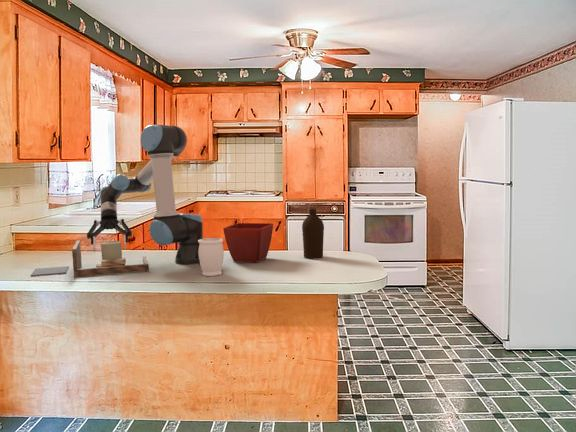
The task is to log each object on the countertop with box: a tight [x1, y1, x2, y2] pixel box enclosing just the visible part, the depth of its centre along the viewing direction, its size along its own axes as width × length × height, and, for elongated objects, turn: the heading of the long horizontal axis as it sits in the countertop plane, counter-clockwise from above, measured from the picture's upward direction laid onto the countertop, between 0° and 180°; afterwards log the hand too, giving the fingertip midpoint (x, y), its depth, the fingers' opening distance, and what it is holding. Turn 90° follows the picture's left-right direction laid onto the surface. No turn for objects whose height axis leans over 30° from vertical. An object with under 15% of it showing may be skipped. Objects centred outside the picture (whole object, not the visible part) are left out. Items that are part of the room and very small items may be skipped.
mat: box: [30, 265, 69, 277], centre depth 232 cm, size 14×14×1 cm
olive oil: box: [301, 205, 325, 260], centre depth 253 cm, size 11×11×25 cm
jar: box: [198, 237, 225, 277], centre depth 220 cm, size 11×10×15 cm
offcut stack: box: [95, 257, 127, 268], centre depth 231 cm, size 15×5×5 cm, turn 110°
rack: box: [71, 239, 150, 278], centre depth 237 cm, size 31×26×12 cm
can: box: [100, 240, 123, 261], centre depth 239 cm, size 9×9×12 cm
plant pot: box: [223, 222, 274, 263], centre depth 249 cm, size 19×19×17 cm
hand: (110, 248), depth 242 cm, fingers open, 13 cm apart
